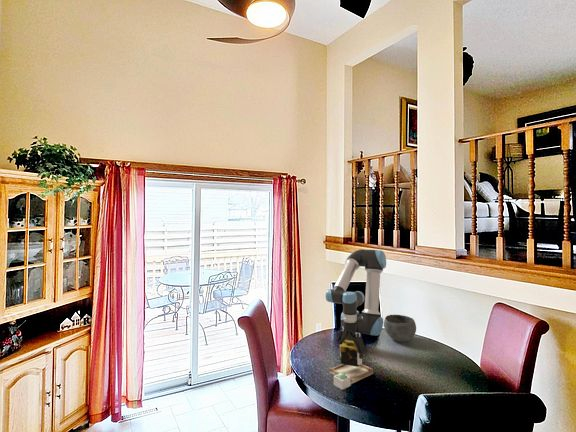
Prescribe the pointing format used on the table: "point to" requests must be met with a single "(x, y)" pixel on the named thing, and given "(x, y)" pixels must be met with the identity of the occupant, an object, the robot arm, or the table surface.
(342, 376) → the button
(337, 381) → the button housing
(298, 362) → the table surface
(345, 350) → the candle
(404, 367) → the table surface
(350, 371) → the beige square tray
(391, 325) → the bowl
